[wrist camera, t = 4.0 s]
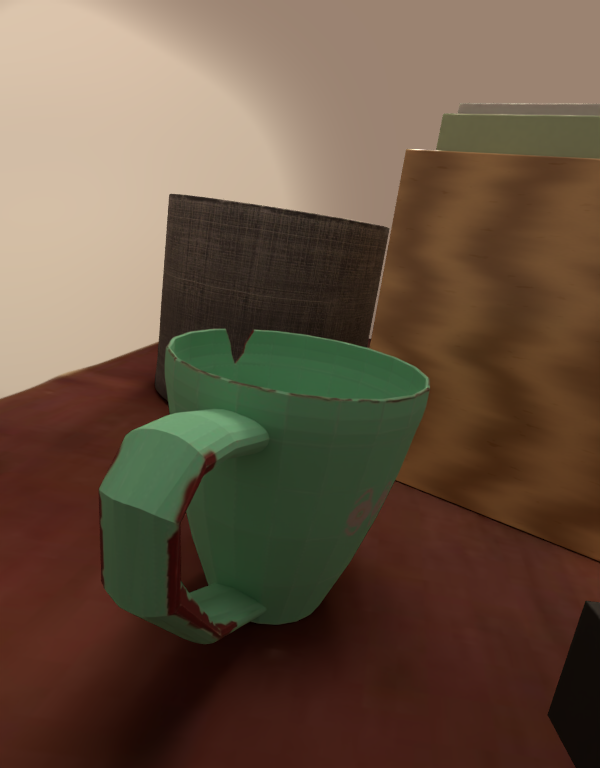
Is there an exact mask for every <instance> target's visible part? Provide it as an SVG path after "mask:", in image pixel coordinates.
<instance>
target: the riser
mask: <svg viewBox="0 0 600 768" xmlns="http://www.w3.org/2000/svg"><path fill="white" fill-rule="evenodd" d="M370 349H373V350H376V351H379V352H382V353H385V354H388V355H391V356H394V357H396V358H398V359H400V360H403V361H405V362H407V363H409V364H411V365H413V366H415V367H417V368H418V369H419V370H420V371H421V372H423V373H424V374H425V375H426V376H427V377H428V378H429V379H430V391H429V396H428V400H427V405H426V408H425V411H424V414H423V417H422V420H421V422H420V424H419V426H418V428H417V430H416V433H415V435H414V437H413V440H412V442H411V445H410V447H409V450H408V452H407V454H406V457H405V459H404V462H403V464H402V467H401V469H400V471H399V474H398V475H397V477H396V479H395V480H397V481H399V482H402V483H404V484H407V485H409V486H412V487H414V488H417V489H419V490H422V491H424V492H427V493H429V494H432V495H434V496H437V497H439V498H442V499H444V500H447V501H449V502H452V503H454V504H457V505H459V506H462V507H464V508H467V509H469V510H472V511H474V512H477V513H479V514H482V515H484V516H487V517H489V518H492V519H494V520H497V521H499V522H502V523H504V524H507V525H509V526H512V527H514V528H517V529H519V530H522V531H525V532H527V533H530V534H532V535H535V536H537V537H540V538H542V539H545V540H547V541H550V542H552V543H555V544H557V545H560V546H562V547H565V548H567V549H570V550H572V551H575V552H577V553H580V554H582V555H585V556H587V557H590V558H592V559H595V560H597V561H600V159H594V158H574V157H555V156H535V155H515V154H496V153H476V152H456V151H437V150H416V149H406V153H405V159H404V164H403V169H402V175H401V181H400V186H399V191H398V196H397V202H396V207H395V213H394V218H393V224H392V230H391V234H390V241H389V245H388V251H387V256H386V262H385V268H384V273H383V278H382V283H381V289H380V295H379V300H378V305H377V311H376V316H375V322H374V327H373V332H372V338H371V343H370Z"/></svg>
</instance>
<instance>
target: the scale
mask: <svg viewBox="0 0 600 768" xmlns="http://www.w3.org/2000/svg"><path fill="white" fill-rule="evenodd" d="M436 150H437V151H456V152H476V153H496V154H515V155H535V156H555V157H574V158H594V159H600V104H460V106H459V110H458V114H444V115H443V118H442V124H441V128H440V133H439V139H438V143H437V148H436Z"/></svg>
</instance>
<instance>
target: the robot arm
mask: <svg viewBox="0 0 600 768" xmlns="http://www.w3.org/2000/svg"><path fill="white" fill-rule="evenodd" d="M548 717H549V718H550V720H551V722H552V724H553V726H554V728H555V730H556V732H557V734H558V735H559V737H560V739H561V741H562V743H563V745H564V747H565V749H566V750H567V752H568V754H569V756H570V758H571V760H572V762H573V764H574V765H575V767H576V768H600V602H591V601H585V604H584V607H583V610H582V613H581V616H580V619H579V622H578V625H577V628H576V631H575V634H574V637H573V640H572V643H571V646H570V649H569V652H568V655H567V658H566V661H565V664H564V667H563V670H562V673H561V676H560V679H559V682H558V685H557V688H556V691H555V694H554V697H553V700H552V703H551V706H550V709H549V712H548Z"/></svg>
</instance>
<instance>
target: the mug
mask: <svg viewBox="0 0 600 768" xmlns="http://www.w3.org/2000/svg"><path fill="white" fill-rule="evenodd" d="M165 381H166V388H167V396H168V404H169V411H170V415H167V416H165V417H162V418H160V419H158V420H155V421H153V422H151V423H149V424H146V425H144V426H142V427H139V428H137V429H135V430H132V431H131V432H129V433H128V434H127V435H126V436H125V438H124V440H123V442H122V444H121V446H120V448H119V450H118V452H117V454H116V456H115V458H114V460H113V462H112V464H111V466H110V468H109V470H108V472H107V474H106V476H105V478H104V480H103V482H102V484H101V486H100V488H99V515H100V550H101V581H102V584H103V586H104V589H105V590H106V591H107V593H108V594H109V595H110V597H111V598H112V599H113V600H114V601H115V603H116V604H117V605H118V606H119V607H120V608H122V609H124V610H126V611H128V612H130V613H132V614H134V615H136V616H138V617H140V618H142V619H144V620H146V621H148V622H150V623H152V624H154V625H156V626H159V627H161V628H163V629H165V630H167V631H169V632H171V633H173V634H175V635H177V636H179V637H181V638H183V639H186V640H189V641H192V642H195V643H200V644H209V643H214V642H216V641H218V640H220V639H221V638H223V637H225V636H226V635H228V634H230V633H231V632H233V631H235V630H236V629H238V628H240V627H241V626H243V625H245V624H246V623H248V622H250V621H251V622H254V623H258V624H273V625H280V624H286V623H291V622H296V621H298V620H300V619H303V618H305V617H307V616H309V615H310V614H311V613H312V612H313V611H314V610H315V609H316V608H317V607H318V606H319V605H320V603H321V602H322V601H323V599H324V598H325V596H326V595H327V594H328V592H329V591H330V589H331V588H332V587H333V585H334V584H335V582H336V581H337V580H338V578H339V577H340V575H341V574H342V573H343V571H344V570H345V568H346V567H347V566H348V564H349V563H350V561H351V559H352V558H353V556H354V554H355V553H356V551H357V549H358V548H359V546H360V544H361V542H362V541H363V539H364V537H365V536H366V534H367V532H368V531H369V529H370V527H371V525H372V524H373V522H374V520H375V519H376V517H377V515H378V513H379V511H380V509H381V507H382V505H383V503H384V501H385V499H386V497H387V495H388V493H389V491H390V489H391V487H392V485H393V483H394V481H395V479H396V477H397V475H398V474H399V471H400V469H401V467H402V464H403V462H404V459H405V457H406V454H407V452H408V450H409V447H410V445H411V442H412V440H413V437H414V435H415V433H416V430H417V428H418V426H419V424H420V422H421V420H422V417H423V414H424V411H425V408H426V405H427V400H428V396H429V391H430V379H429V378H428V377H427V376H426V375H425V374H424V373H423V372H421V371H420V370H419V369H418V368H417V367H415V366H413V365H411V364H409V363H407V362H405V361H403V360H400V359H398V358H396V357H394V356H391V355H388V354H385V353H382V352H379V351H376V350H373V349H370V348H366V347H362V346H358V345H354V344H350V343H346V342H342V341H338V340H332V339H327V338H321V337H316V336H311V335H304V334H297V333H289V332H281V331H271V330H253V331H252V332H251V334H250V336H249V337H248V339H247V341H246V342H245V344H244V348H243V352H242V354H241V356H240V357H239V358H238V359H237V361H236V362H235V363H234V359H233V356H232V352H231V343H230V340H229V337H228V334H227V331H226V329H208V330H200V331H191V332H187V333H185V334H182V335H179V336H176V337H173V338H172V339H171V340H170V342H169V344H168V345H167V347H166V353H165ZM185 513H187V517H188V521H189V525H190V529H191V534H192V538H193V541H194V544H195V547H196V550H197V553H198V556H199V558H200V561H201V564H202V567H203V570H204V573H205V576H206V579H207V582H208V585H209V586H206V587H203V588H201V589H198V590H195V591H193V592H190V593H189V592H188V591H187V589H186V588H185V586H184V585H183V583H182V582H181V544H180V523H181V521H182V519H183V517H184V515H185Z"/></svg>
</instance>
